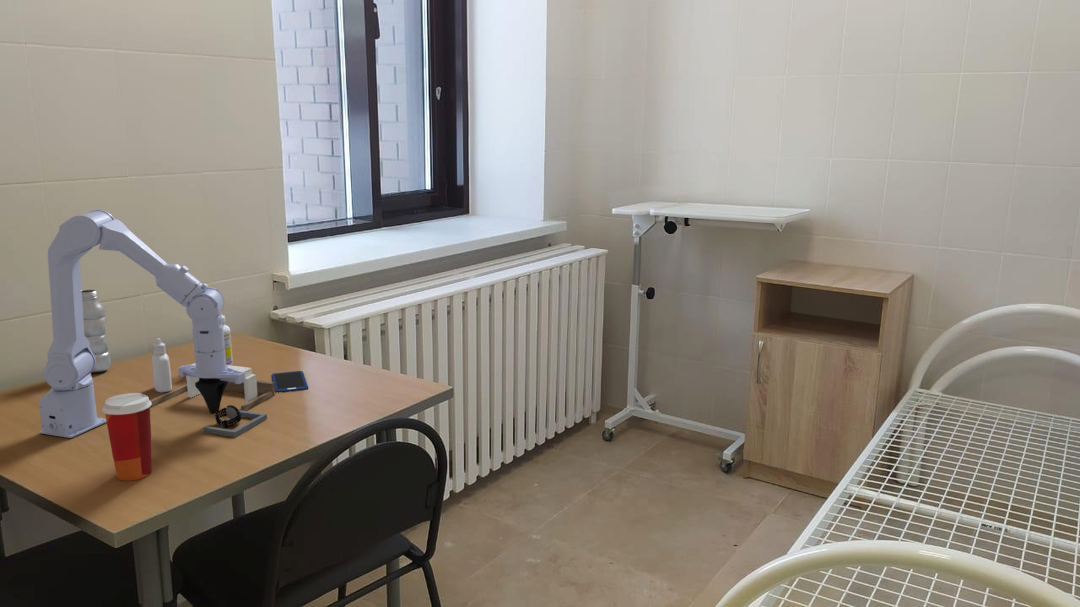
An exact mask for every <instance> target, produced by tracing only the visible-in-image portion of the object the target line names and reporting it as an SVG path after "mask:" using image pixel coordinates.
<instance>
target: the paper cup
mask: <svg viewBox="0 0 1080 607" xmlns="http://www.w3.org/2000/svg"><path fill="white" fill-rule="evenodd" d="M151 405H152V402H151V400H150V399H149V396H148V395H146V394H144V393H141V392H129V393H123V394H122V393H121V394H116V395H114V396H110V397H108V398H107V399H106V400H105V401H104V404H103V407H102V409H101V410H102V411H101V412H102V413H103V414H104V416H105V419H106V425H107V426H106V427H107V432H108V437H109V441H110V442H109V443H110V448H111V454H112V459H113V463H114V469H115V474H116V478H117V479H118V480H120V481H122V482H124V481H125V482H132V481H133V482H134V481H137V480H138V481H139V480H141V479H144V478H146V477H149V476H150V475H152V471H153V458H152V457H153V456H152V429H151V428H152V427H151V423H152V422H151V407H150V406H151Z"/></svg>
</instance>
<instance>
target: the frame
mask: <svg viewBox="0 0 1080 607" xmlns="http://www.w3.org/2000/svg"><path fill="white" fill-rule="evenodd" d="M238 410H239V411H240V413H241V418H248V419H251V420H250V421H247V423H245V424H243V425H241V426H239V427H238V428H236V429H228V428H223V427H214V426H207V425H206V426H204V427H203V428H202V429H203V433H206V434H213V435H217V436H218V435H219V436H226V437H232V438H236V437H238V436H240V435H242V434H244V433H245V432H246V431H248V430H251V429H252V428H254V427H255V426H257V425H259V424H260V423H262V422H264V421H266V420H267V419H268V414H267V413H260V412H254V411H248V410H246V411H242V410H241V409H238Z"/></svg>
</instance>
